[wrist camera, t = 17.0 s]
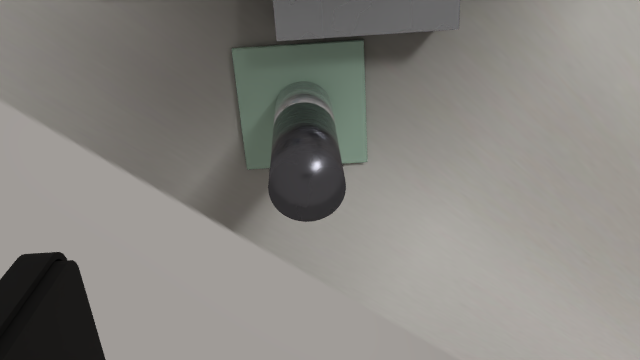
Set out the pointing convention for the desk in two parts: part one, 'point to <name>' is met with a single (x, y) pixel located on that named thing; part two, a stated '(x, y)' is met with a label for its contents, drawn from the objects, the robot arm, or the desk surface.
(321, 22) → the block
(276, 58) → the mat
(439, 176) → the desk surface
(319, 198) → the dark gray capped cylinder
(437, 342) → the desk surface
